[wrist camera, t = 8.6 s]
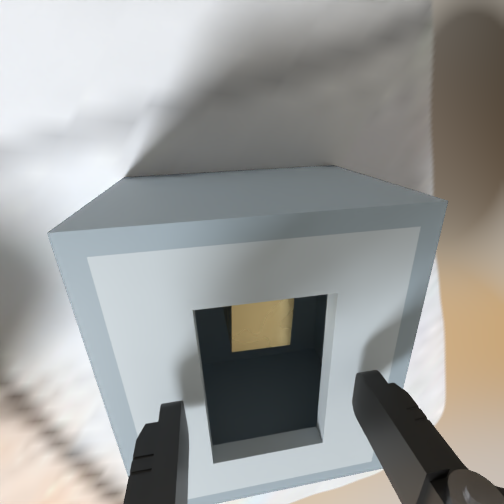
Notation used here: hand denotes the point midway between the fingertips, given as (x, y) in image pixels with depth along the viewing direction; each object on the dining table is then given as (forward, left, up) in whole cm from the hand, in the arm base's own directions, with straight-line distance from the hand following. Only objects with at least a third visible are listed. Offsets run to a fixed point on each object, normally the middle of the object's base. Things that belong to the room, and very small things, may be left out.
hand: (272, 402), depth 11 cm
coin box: (0, 0, -10) cm, 10 cm away
